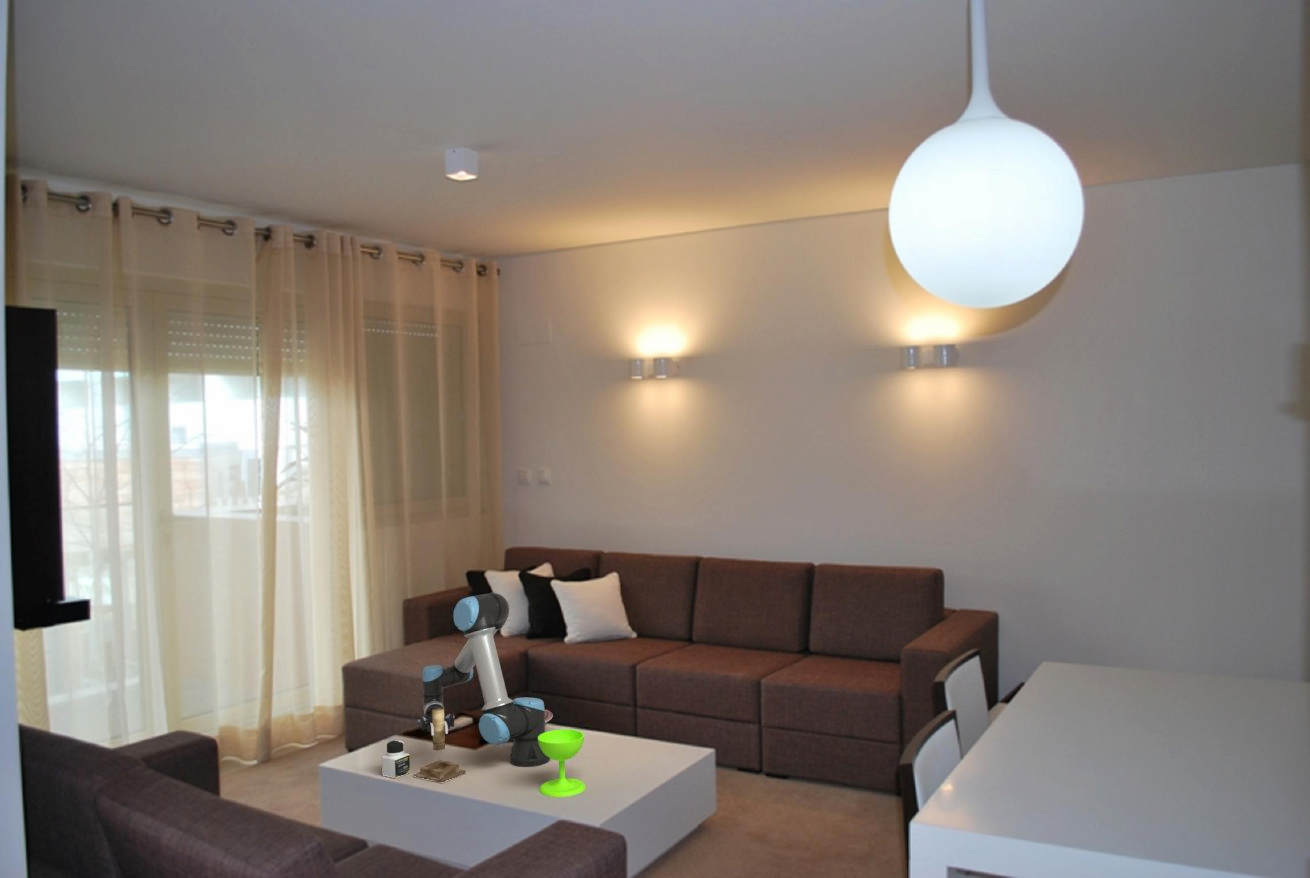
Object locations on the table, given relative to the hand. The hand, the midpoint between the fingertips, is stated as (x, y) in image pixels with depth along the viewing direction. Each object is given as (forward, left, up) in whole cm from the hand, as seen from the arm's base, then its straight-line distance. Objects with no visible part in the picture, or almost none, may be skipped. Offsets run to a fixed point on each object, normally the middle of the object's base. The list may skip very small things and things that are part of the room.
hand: (439, 730), depth 344 cm
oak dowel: (+4, -4, -8) cm, 10 cm away
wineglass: (-44, -14, -18) cm, 49 cm away
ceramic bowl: (+9, -53, -18) cm, 56 cm away
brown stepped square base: (+4, -4, -18) cm, 18 cm away
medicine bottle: (+19, +3, -18) cm, 26 cm away
